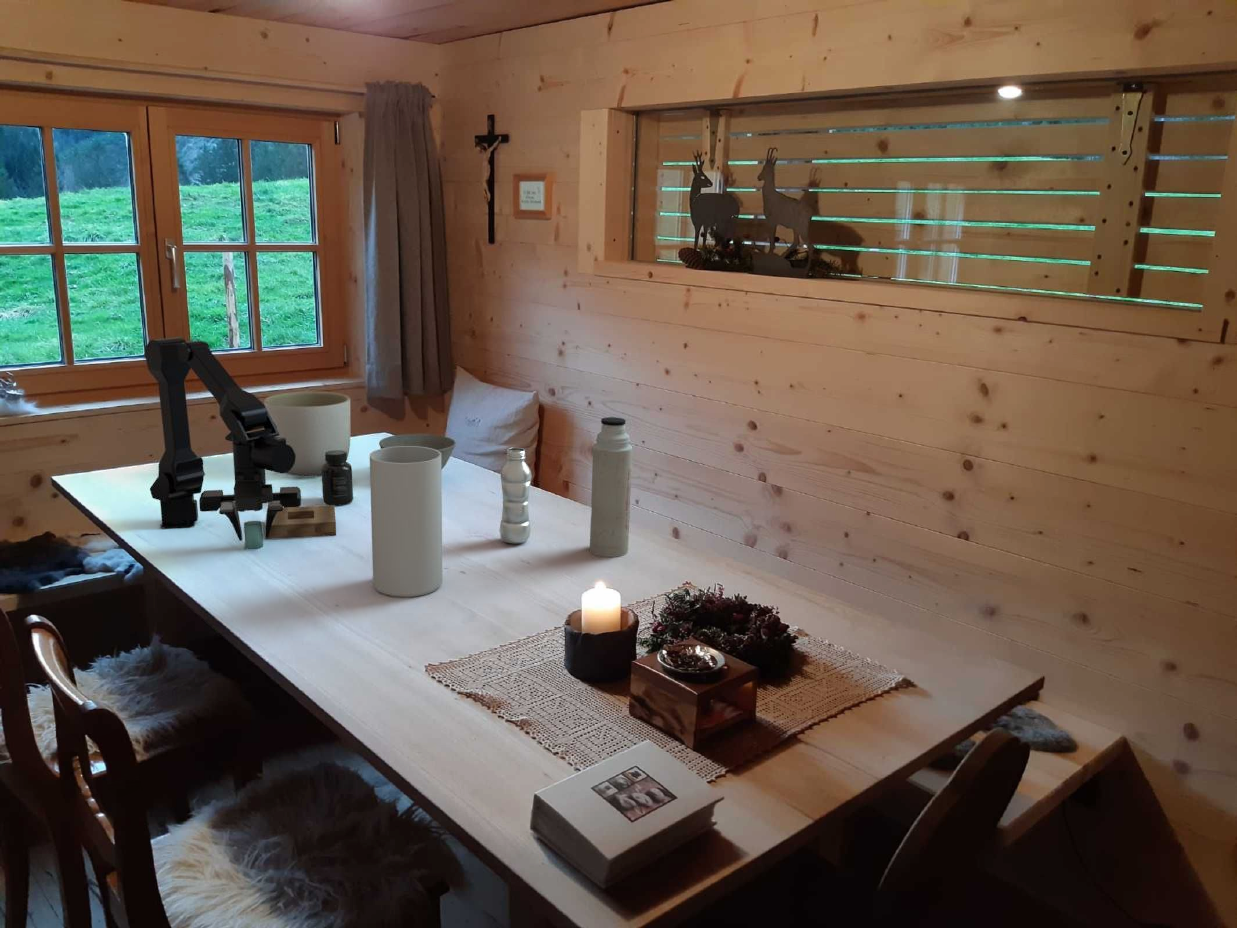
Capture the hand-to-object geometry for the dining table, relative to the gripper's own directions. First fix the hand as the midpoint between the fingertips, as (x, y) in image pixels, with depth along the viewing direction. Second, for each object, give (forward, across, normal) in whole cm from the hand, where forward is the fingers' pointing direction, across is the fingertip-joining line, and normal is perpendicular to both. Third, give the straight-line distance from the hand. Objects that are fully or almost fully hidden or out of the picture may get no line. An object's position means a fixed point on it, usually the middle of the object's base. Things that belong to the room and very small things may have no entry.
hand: (253, 539), depth 196 cm
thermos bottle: (+2, +70, -16) cm, 72 cm away
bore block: (+2, +9, +10) cm, 14 cm away
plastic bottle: (+2, +52, -7) cm, 53 cm away
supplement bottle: (+2, +17, +28) cm, 33 cm away
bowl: (+2, +37, +44) cm, 58 cm away
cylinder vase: (+2, +28, -27) cm, 39 cm away
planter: (+2, +11, +57) cm, 58 cm away
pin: (+2, 0, 0) cm, 2 cm away
